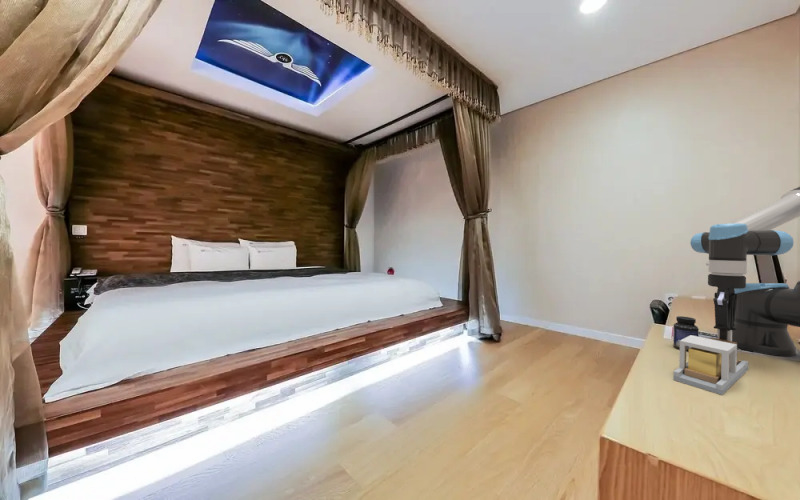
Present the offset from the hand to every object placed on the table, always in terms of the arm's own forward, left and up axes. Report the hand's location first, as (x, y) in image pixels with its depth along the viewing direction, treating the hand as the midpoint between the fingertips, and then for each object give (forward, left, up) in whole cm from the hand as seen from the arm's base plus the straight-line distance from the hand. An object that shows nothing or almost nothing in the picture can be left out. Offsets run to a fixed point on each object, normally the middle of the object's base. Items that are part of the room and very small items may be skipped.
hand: (724, 350), depth 85 cm
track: (+12, +5, -4) cm, 14 cm away
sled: (+12, +5, -3) cm, 13 cm away
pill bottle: (-3, -12, -4) cm, 13 cm away
